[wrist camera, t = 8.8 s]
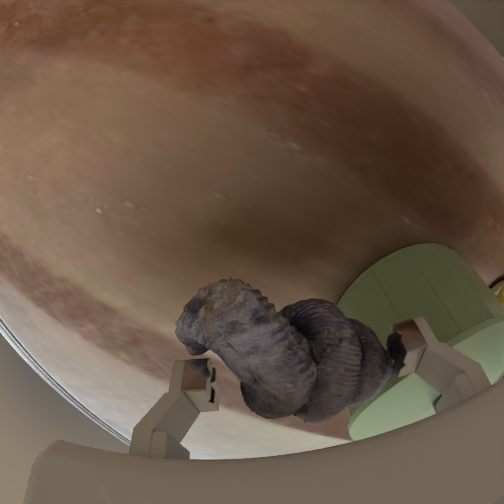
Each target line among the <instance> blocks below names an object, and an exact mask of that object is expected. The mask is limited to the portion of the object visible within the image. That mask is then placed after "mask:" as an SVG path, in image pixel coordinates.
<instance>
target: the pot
mask: <svg viewBox="0 0 504 504" xmlns="http://www.w3.org/2000/svg"><path fill="white" fill-rule="evenodd" d="M336 307H338V308H339V309H340V310H341V311H342V313H343V314H344V315H345V316H346V317H347V318H352V319H356V320H358V321H360V322H361V323H363V324H364V325H366V326H369V327H370V328H371V329H372V330H373V331H374V332H375V333H376V335H377V337H378V339H379V340H380V342H381V344H382V345H383V347H384V348H385V349H386V350H387V346H386V341H387V337H388V336H389V335H390V332H389V328H390V326H391V324H395V323H398V322H401V321H405V320H408V319H412V318H416V317H419V316H423V317H424V318H425V320H426V322H427V323H428V325H429V327H430V328H431V330H432V332H433V333H434V335H435V337H436V338H437V340H438V342H443V343H445V342H447V341H448V340H450V339H452V338H453V337H455V336H457V335H458V334H460V333H462V332H464V331H466V330H467V329H469V328H471V327H473V326H475V325H477V324H479V323H481V322H483V321H485V320H488V319H490V318H493V317H496V316H499V315H503V314H504V306H503V304H502V303H501V302H500V300H499V299H498V298H497V297H496V296H495V294H494V293H493V292H492V291H491V289H490V288H489V287H488V286H487V285H486V284H485V282H484V281H483V280H482V279H481V278H480V277H479V276H478V274H477V273H476V272H475V271H474V270H473V269H472V268H471V267H470V266H469V264H468V263H467V262H466V261H465V260H464V259H463V258H462V257H461V256H460V255H459V254H458V253H457V252H456V251H455V250H452V249H451V248H449V247H447V246H445V245H442V244H437V243H422V244H415V245H412V246H408V247H405V248H402V249H400V250H397V251H395V252H393V253H391V254H389V255H387V256H385V257H384V258H382V259H381V260H379V261H377V262H376V263H374V264H373V265H372V266H370V267H369V268H368V269H367V270H365V271H364V272H363V273H362V274H361V275H360V276H359V277H358V278H357V279H356V280H355V281H354V282H353V283H352V284H351V285H350V286H349V287H348V289H347V290H346V291H345V293H344V294H343V295H342V297H341V298H340V300H339V302H338V304H337V305H336ZM392 361H393V363H394V361H395V360H393V359H392ZM396 375H397V374H396V371H395V374H392V375H391V377H390V379H389V380H391V379H392V378H393V377H395V376H396ZM389 380H388V381H389ZM388 381H387V382H388ZM361 404H362V403H361ZM361 404H359V405H355V406H351V407H348V408H349V412H350V416H351V417H352V415H353V414H354V412H355V411H356V410H357V409H358V408H359V407H360V405H361Z"/></svg>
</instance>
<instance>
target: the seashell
mask: <svg viewBox="0 0 504 504" xmlns="http://www.w3.org/2000/svg"><path fill="white" fill-rule="evenodd" d="M175 324H176V327H177V328H176V331H175V333H176V334H177V338H178V339H179V340H180V341H181V342H182V343H183V344H184V345H185V347H186V348H187V350H188V352H189V354H191V355H192V356H195V355H201V354H203V353H205V352H206V351H208V350H209V349H210V350H211V351H213V352H214V353H216V354H217V355H218V356H219V357H220V358H221V359H222V360H223V361H224V363H225V364H226V365H227V367H228V368H229V369H230V370H231V371H232V372H233V373H234V374H235V375H236V376H237V377H238V379H239V380H241V392H242V396H243V398H244V401H245V403H246V405H247V406H248V407H249V408H250V409H251V411H252V412H255V413H256V414H257V415H260V416H262V417H264V418H267V419H277V418H280V417H281V418H284V417H287V416H290V415H292V414H294V416H298V417H300V418H301V419H303V420H304V421H305V423H306V422H307V421H310V422H312V423H316V422H319V421H323V420H328V419H330V418H332V417H334V416H335V415H337V414H338V413H339V412H340V411H342V410H344V409H345V407H346V406H347V407H351V406H355V405H359V404H361V403H363V402H365V401H369V400H372V399H373V398H374V397H375V396H376V395H377V394H378V393H379V392H380V391H381V390H382V389H383V387H384V386H385V385H386V383H387V381H388V380H389V379H390V377H391V375H392V374H395V369H394V366H393V364H394V363H393V361H392V359H391V358H390V356H389V353H388V351H387V350H386V349H385V348H384V347H383V345H382V344H381V342H380V340H379V339H378V337H377V335H376V333H375V332H374V331H373V330H372V329H371V328H370V327H369V326H366V325H364V324H363V323H361V322H360V321H358V320H356V319H352V318H347V317H346V316H345V315H344V314H343V313H342V311H341V310H340V309H339V308H338V307H336V306H335V305H333V304H332V303H330V302H329V301H325V300H322V299H314V298H311V299H308V300H302V301H299V302H297V303H295V304H291V305H288V306H285V307H284V308H283V309H282V310H281V311H280V312H276V310H275V306H274V304H272V303H268V299H267V297H265V296H262V295H261V292H260V291H259V289H253V288H252V287H251V286H250V285H249V284H245V283H244V282H243V281H242V280H241V279H237V280H232V278H231V277H230V278H229V279H228V280H227V279H221V280H220V281H219V282H218V283H212V284H209V285H207V286H205V287H203V288H201V289H199V291H198V293H197V295H196V296H194V297H193V298H192V299H191V300H190V301H189V302H188V303H187V304H186V305H185V307H184V312H183V313H182V314H181V316H180V317H179V319H178V320H177V322H176V323H175Z"/></svg>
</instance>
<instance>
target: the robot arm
mask: <svg viewBox="0 0 504 504" xmlns="http://www.w3.org/2000/svg"><path fill="white" fill-rule="evenodd" d="M389 332H390V335H389V336H388V337H387V341H386V346H387V351H388V353H389V356H390V358H391V359H393V360H395V361H394V364H393V366H394V369H395V371H396V374H397V376H398V377H401V376H405V375H408V374H411V373H414V372H415V374H417V375H418V376H419V377H420V378H422V379H423V380H424V381H425V382H427V383H428V384H429V385H430V386H432V387H433V388H434V389H435V390H437V391H438V392H439V393H440V394H442V397H441V398H440V400H439V401H438V403H437V404H436V408H437V411H438V413H436V414H434V415H431V416H429V417H427V418H424V419H422V420H419V421H416V422H414V423H411V424H408V425H406V426H403V427H400V428H397V429H394V430H391V431H388V432H385V433H382V434H379V435H375V436H372V437H368V438H365V439H361V440H357V441H354V442H350V443H345V444H341V445H337V446H332V447H327V448H323V449H317V450H312V451H306V452H300V453H293V454H286V455H278V456H269V457H258V458H245V459H220V460H198V459H189V458H190V452H189V451H188V450H187V449H186V448H185V447H183V446H182V445H181V444H180V442H181V441H182V439H183V438H184V436H185V435H186V433H187V432H188V430H189V429H190V427H191V426H192V424H193V423H194V421H195V420H196V418H197V417H198V415H199V414H200V413H199V412H208V411H219V397H218V395H217V393H216V392H217V391H218V390H219V386H220V382H219V375H218V372H217V370H216V368H214V367H213V362H212V360H211V358H205V359H190V360H175V362H174V364H173V369H172V375H171V381H170V386H169V392H168V393H165V394H164V395H163V396H162V397H161V398H160V399H159V400H158V402H157V403H156V404H155V405H154V406H153V407H152V408H151V409H150V411H149V412H148V413H147V414H146V415H145V416H144V417H143V418H142V419H141V421H140V422H139V423H138V424H137V425H136V426H135V427H134V429H133V434H132V440H131V445H130V451H129V454H126V453H119V452H114V451H108V450H102V449H98V448H93V447H88V446H84V445H79V444H76V443H72V442H68V441H64V440H56V441H55V442H53V443H52V444H51V445H49V446H48V447H47V448H46V449H45V450H44V451H43V452H42V453H40V454H39V455H38V457H37V458H36V460H35V462H34V464H33V467H32V469H31V473H30V476H29V480H28V484H27V488H26V493H25V498H24V503H23V504H504V378H503V379H502V380H500V381H498V382H497V383H495V384H493V385H491V383H490V381H489V379H488V377H487V376H486V374H485V372H484V370H483V368H482V366H481V365H480V363H478V362H476V361H474V360H473V359H471V358H469V357H468V356H466V355H464V354H462V353H461V352H459V351H457V350H455V349H454V348H452V347H450V346H448V345H447V344H445V343H443V342H438V340H437V338H436V337H435V335H434V333H433V332H432V330H431V328H430V327H429V325H428V323H427V322H426V320H425V318H424V317H423V316H419V317H416V318H412V319H408V320H405V321H401V322H398V323H395V324H391V326H390V328H389Z"/></svg>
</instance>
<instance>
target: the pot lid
mask: <svg viewBox="0 0 504 504" xmlns="http://www.w3.org/2000/svg"><path fill="white" fill-rule="evenodd" d="M445 344H447V345H448V346H450V347H452V348H454V349H455V350H457V351H459V352H461V353H462V354H464V355H466V356H468V357H469V358H471V359H473V360H474V361H476V362H478V363H480V365H481V366H482V368H483V370H484V372H485V374H486V376H487V377H488V379H489V381H490V383H491V385H492V384H493V383H494V382H495V381H496V380H497V379H498V378H499V377H500V376H501V375H502V373H503V372H504V314H503V315H499V316H496V317H493V318H490V319H488V320H485V321H483V322H481V323H479V324H477V325H475V326H473V327H471V328H469V329H467V330H466V331H464V332H462V333H460V334H458V335H457V336H455V337H453V338H452V339H450V340H448V341H447V342H445ZM441 397H442V394H440V393H439V392H438V391H437V390H435V389H434V388H433V387H432V386H430V385H429V384H428V383H427V382H425V381H424V380H423V379H422V378H420V377H419V376H418V375H417V374H415V372H414V373H411V374H408V375H405V376H401V377H398V376H397V375H396V376H395V377H393V378H392V379H391V380H389V381H388V382H387V383H386V385H385V386H384V387H383V389H382V390H381V391H380V392H379V393H378V394H377V395H376V396H375V397H374V398H373V399H372V400H369V401H365V402H363V403H362V404H361V405H360V407H359V408H358V409H357V410H356V411H355V412H354V414H353V415H352V417H351V419H350V421H349V423H348V431H349V434H350V437H351V438H352V439H353V440H355V441H357V440H361V439H365V438H368V437H372V436H375V435H379V434H382V433H385V432H388V431H391V430H394V429H397V428H400V427H403V426H406V425H408V424H411V423H414V422H416V421H419V420H422V419H424V418H427V417H429V416H431V415H434V414H436V413H438V411H437V408H436V404H437V403H438V401H439V400H440V398H441Z"/></svg>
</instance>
